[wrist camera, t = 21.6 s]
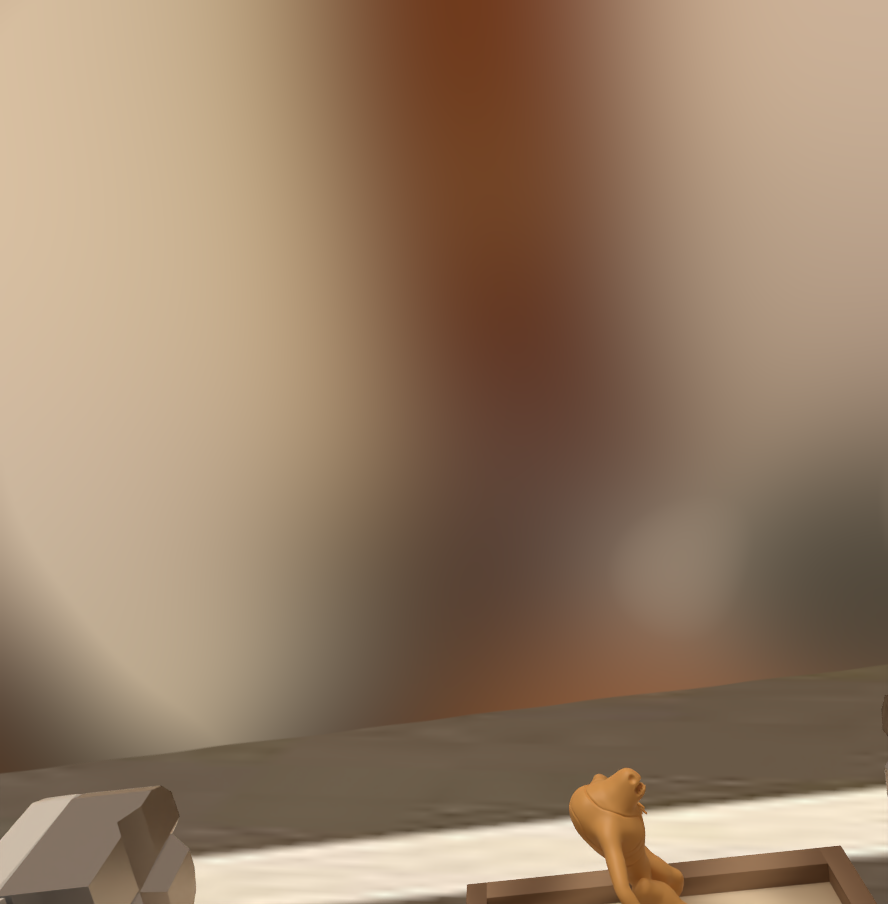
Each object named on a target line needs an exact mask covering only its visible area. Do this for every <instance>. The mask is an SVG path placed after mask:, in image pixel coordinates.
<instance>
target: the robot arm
mask: <svg viewBox="0 0 888 904" xmlns="http://www.w3.org/2000/svg"><path fill="white" fill-rule="evenodd" d="M882 730H883V731H884V732H885V734H886V735H887V736H888V695H885V697H884V701H883V705H882ZM885 776H886V786H887V795H888V762H887V764H886V765H885ZM179 817H180V815H179V812H178V809H177V806H176V804H175V801H174V798H173V795H172V792H171V791H169V790H168V789H166V788H165V787H163V786H151V787H142V788H132V789H122V790H113V791H103V792H93V793H85V794H82V795H81V794H73V795H66V796H59V797H51V798H45V799H43V800H40V801H37V802H34V803H32V804H31V805H30V807H29V808H28V809H27V810H26V811H25V812H24V813H23V815H22V816H21V817H20V818H19V819H18V820H17V822H16V823H15V824H14V825H13V826H12V827H11V828H10V830H9V831H8V832H7V833H6V834H5V835H4V837H3V838H2V839H1V840H0V904H194V899H195V893H196V881H195V868H194V864H193V860H192V857H191V853H190V849H189V848H188V847H187V846H186V845H184V844H183V843H182V842H181V841H180V840H179V839H178V838H176V837H175V836H174V835H173V834H172V832H173V830H174V828H175V826H176V823H177V821H178V819H179Z"/></svg>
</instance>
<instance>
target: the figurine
mask: <svg viewBox="0 0 888 904" xmlns="http://www.w3.org/2000/svg"><path fill="white" fill-rule="evenodd" d="M640 779H641V777H640V775H639V774H638V773H637V772H636V771H634V770H632V769H630V768H623V769H621V770H619V771H618V772H616V773H615V774H614V775H612V776H611V777H609V778H607V777H605V776H604V775H601V774H596V775H595V776H594V778H593V781H592V782H591V783H590V785H585V786H582V787H580V788H578V789H577V790H576V791H575V792H574V794H573V795H572V797H571V800H570V804H569V812H570V817H571V820H572V822H573V825H574V827H575V829H576V830H577V832H578V833H579V834H580V836H581V837H582V838H583V839H584V840H585V841H586V842H587V843H588V844H589V845H590V846H591V847H592V848H593V849H594V850H595V851H596V852H597V853H599V854H600V855H601V856H603V857H604V858H605V859H606V863H607V867H608V870H609V874H610V877H611V881H612V884H613V887H614V890H615V892H616V895H617V897H618V898H619V900H620V902H621V904H687V903H685V902H684V901H683V900H681V899H680V898H679V896H680V894H681V892H682V890H683V886H684V877H683V875H682V873H681V872H680V871H679V870H678V869H676V868H674V867H672V866H670V865H669V864H667V863H666V862H665V861H663V860H662V859H661V858H659V857H658V856H656V855H654V854H653V853H652V852H651V851H650V850H649V849H648V848H647V847H646V846H645V827H644V822H643V818H642V814H643V813H642V811H643V812H644V813H645V814H647V812H646V811H645V810H644V809H645V807H644V806H643V805H641V804H640V803H639V800H640V799H641V798H642V797H643V795H644V793H645V789H646V786H645V785H644V784H642V783H641V782H640ZM639 782H640V783H639ZM643 808H644V809H643ZM629 883H630V884H631V885H632V890H631V888H630V886H629Z"/></svg>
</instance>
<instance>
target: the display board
mask: <svg viewBox="0 0 888 904" xmlns="http://www.w3.org/2000/svg"><path fill="white" fill-rule="evenodd" d="M669 865H670V866H672V867H674V868H676V869H678V870H679V871H680V872H681V873H682V875H683V877H684V886H683V890H682V892H681V894H680V896H679V898H680V899H681V900H683V901H684V902H685V903H687V904H877V903H876V902H875V900H874V898H873V897H872V895H871V894H870V892H869V890H868V889H867V887H866V886H865V884H864V882H863V881H862V879H861V878H860V876H859V874H858V873H857V871H856V870H855V868H854V866H853V865H852V863H851V861H850V860H849V858H848V857H847V855H846V853H845V852H844V850H843V849H842V847H841V846H833V847H823V848H813V849H804V850H794V851H785V852H775V853H765V854H756V855H746V856H737V857H727V858H718V859H708V860H698V861H689V862H679V863H670V864H669ZM629 886H630V888H631V890H632V885H631V884H630V883H629ZM466 904H621V902H620V900H619V898H618V897H617V895H616V892H615V890H614V887H613V884H612V881H611V877H610V874H609V870H603V871H593V872H583V873H574V874H564V875H555V876H545V877H536V878H526V879H516V880H507V881H497V882H488V883H478V884H468V885H467V898H466Z"/></svg>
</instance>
